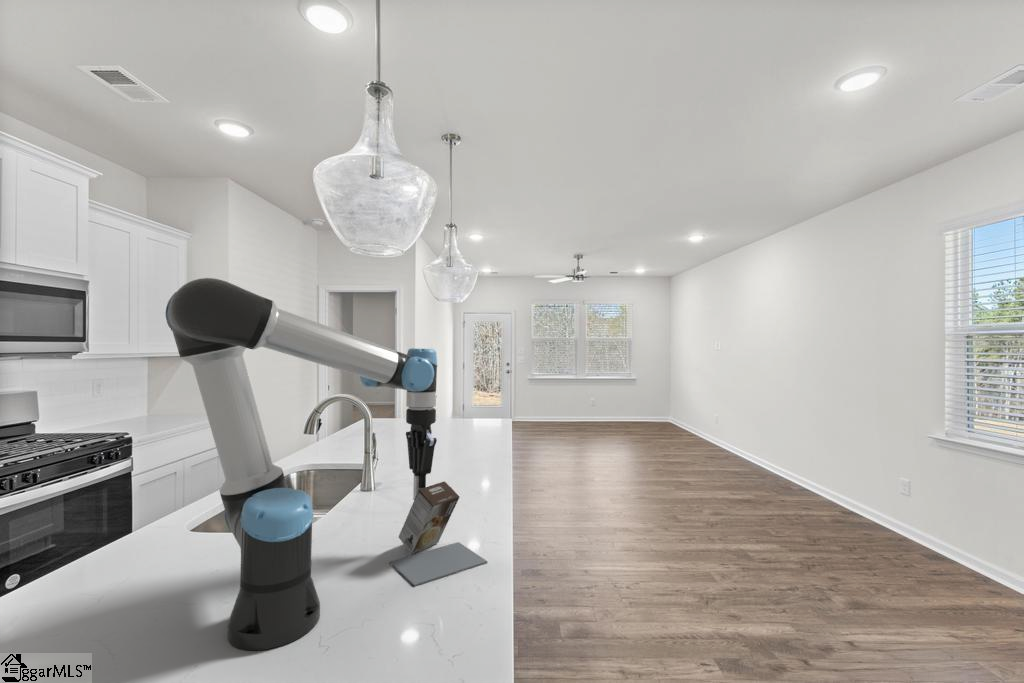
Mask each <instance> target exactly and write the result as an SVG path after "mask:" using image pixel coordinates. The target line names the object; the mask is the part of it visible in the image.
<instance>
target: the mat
mask: <svg viewBox="0 0 1024 683" xmlns="http://www.w3.org/2000/svg"><path fill="white" fill-rule="evenodd" d="M389 564H390V565H391V564H392V565H393V566H392V565H391V566H392V567H393V568H394V569H395V570H396V569H397V570H396V571H397V572H399V574H401V576H403V577H404V578H405V580H406V581H407V582H409V583H410V584H411V585H412V586H413V587H418V586H420V585H421V586H422V585H423V584H427V583H430V582H434V581H437V580H439V579H442V578H445V577H448V576H451V575H455V574H458V573H460V572H465V571H466V570H470V569H473V568H476V567H478V566H483V565H486V564H488V560H486V559H484V558H483V557H482V556H480V555H478V553H475V552H474V551H473V550H471V549H470V548H468V546H465V545H464V544H462V543H461V542H459V541H457V542H454V543H450V544H446V545H443V546H440V547H436V548H432V549H429V550H428V549H427V550H425V551H420V552H417V553H414V554H411V555H407V556H404V557H400V558H397V559H393V560H390V561H389Z"/></svg>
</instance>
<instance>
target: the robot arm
mask: <svg viewBox="0 0 1024 683" xmlns="http://www.w3.org/2000/svg"><path fill="white" fill-rule="evenodd" d="M165 307H166V308H165V314H164V315H165V319H166V324H167V326H168V327H169V328H170V331H171V332H172V335H173V338H174V341H175V344H176V347H177V352H178V355H179V358H180V360H183V361H185V362H187V363H189V364H190V365H191V366H192V368H193V372H194V375H195V379H196V382H197V385H198V390H199V393H200V396H201V398H202V399H201V400H202V403H203V406H204V410H205V412H206V418H207V420H208V423H209V428H210V431H211V434H212V437H213V441H214V444H215V447H216V451H217V453H218V457H219V462H220V465H221V468H222V471H223V472H222V473H223V475H224V479H225V480H224V482H223V484H222V485H221V487H220V488H219V494H220V498H221V501H222V505H223V508H224V511H223V512H224V521H225V524H226V526H227V528H228V530H229V531H230V532H231V533H232V535H233V537H234V538H235V540H236V542H237V544H238V546H239V547H240V581H239V583H240V584H239V585H240V587H239V592H238V593H237V596H236V599H235V602H234V604H233V607H232V610H231V613H230V617H229V618H228V621H227V636H226V637H227V640H228V642H229V644H230V645H232V646H233V647H235V648H237V649H239V650H244V651H245V650H246V651H262V650H269V649H272V648H273V649H274V648H278V647H282V646H285V645H287V644H290V643H291V642H295V641H297V640H299V639H300V638H302V637H304V636H306V635H307V634H308V633H309V632H311V630H312V629H314V628H315V627H316V625H317V624H318V622H319V620H320V617H321V602H320V599H319V595H318V592H317V590H316V587H315V583H314V580H313V578H312V547H313V546H312V545H313V544H312V541H313V520H314V509H313V501H312V498H311V497H310V495H309V494H308V493H307V492H305V491H303V490H301V489H299V488H296V489H294V488H291V487H288V485H287V481H286V478H285V473H284V470H283V468H282V467H280V466H278V465H275V464H274V463H273V461H272V457H271V455H270V451H269V446H268V443H267V440H266V435H265V431H264V428H263V425H262V421H261V418H260V414H259V410H258V406H257V403H256V399H255V395H254V392H253V388H252V385H251V381H250V377H249V373H248V370H247V366H246V362H245V358H244V353H245V351H246V349H249V350H252V351H255V350H256V349H259V348H261V347H262V348H265V349H267V350H272V351H276V352H278V353H282V354H285V355H289V356H293V357H295V358H299V359H302V360H304V361H305V360H306V361H309V362H311V363H316V364H319V365H322V366H325V367H328V368H332V369H336V370H338V371H339V370H340V371H343V372H346V373H348V374H352V375H355V376H359V378H360V379H359V380H360V382H361V383H362V385H363V386H364V387H366V388H368V387H369V388H378V387H382V388H383V387H384V388H386V387H387V388H391V389H398V390H399V389H400V390H403V391H406V401H405V402H406V403H405V404H406V407H408V408H407V409H406V412H405V413H406V414H405V420H406V422H405V423H406V424H408V425H410V430H409V431H406V432H405V436H406V441H407V443H406V444H407V451H408V452H407V453H408V454H407V455H408V465H409V466H408V468H409V470H412V473H413V495H412V496H413V497H412V498H413V499H412V500H413V501H414V500H415V497H416V495H417V493H418V491H419V489H422V488H425V487H427V483H426V482H427V475H429V474H431V473H432V466H433V460H434V454H435V447H436V444H437V438H436V437H433V436H432V432H433V431H432V427H431V425H433V424H435V423H436V418H437V409H436V408H435V407H436V405H437V396H438V395H437V378H438V377H437V375H438V374H437V373H438V372H437V371H438V370H437V369H438V357H437V352H436V350H435V349H434V348H414V347H413V348H408V349H407V352H406V353H407V354H406V353H403V352H400V351H397V350H394V349H392V348H389V347H387V346H383V345H380V344H378V343H375V342H373V341H369V340H366V339H365V338H362V337H358V336H355V335H353V334H351V333H348V332H344V331H342V330H339V329H336V328H334V327H330V326H328V325H325V324H322V323H319V322H316V321H313V320H312V319H310V318H309V319H308V318H306V317H303V316H300V315H297V314H294V313H291V312H289V311H286V310H283V309H280V308H278V307H277V304H276V303H275V301H274V300H273V299H269V298H266V297H263V296H262V295H259V294H256V293H253V292H252V291H250V290H247V289H244V288H242V287H240V286H238V285H235V284H232V283H230V282H228V281H227V280H226V281H225V280H223V279H219V278H218V279H217V278H213V277H203V278H198V279H197V278H196V279H193V280H191V281H188V282H186V283H184V285H182V286H180V287H179V289H178V290H177V291H176V292H174V293H173V294H172V295H171V297H170V298H169V300H168V301H167V303H166V306H165Z"/></svg>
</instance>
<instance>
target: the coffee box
mask: <svg viewBox="0 0 1024 683" xmlns="http://www.w3.org/2000/svg"><path fill="white" fill-rule="evenodd" d="M456 492H457V491H455V490H454V489H453V488H452V486H450V485H449V484H448V483H447V482H446V481H441V482H438V483H435V484H432V485H429V486H426V487H425V488H422V489H419V491H418V493H417V495H416V497H415V500H413V503H412V505H411V507H410V509H409V511H408V514H407V516H406V519H405V521H404V523H403V526H402V528H401V530H400V532H399V535H398V539H399V540H400V541H401V542H402V544H403V546H404V547H405V548H406V549H407V550H408V552H409V553H410V554H411V555H414V554H417V553H420V552H422V550H423V551H424V550H425V549H428V548H430V547H432V546H434V545H436V544H438V543H439V542H440V539H441V537H442V536H443V533H444V531H445V530H446V527H447V525H448V522H449V521H450V519H451V516H452V514H453V513H454V510H455V508H456V505H457V503H458V501H459V499H460V496H459V494H458V493H456Z"/></svg>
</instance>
